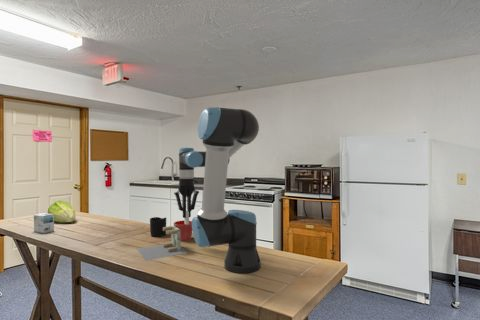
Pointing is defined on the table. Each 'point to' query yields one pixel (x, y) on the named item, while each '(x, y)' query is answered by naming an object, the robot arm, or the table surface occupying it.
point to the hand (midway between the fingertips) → (186, 223)
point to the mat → (158, 252)
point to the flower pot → (184, 230)
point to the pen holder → (157, 226)
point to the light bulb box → (43, 223)
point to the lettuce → (62, 212)
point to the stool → (173, 239)
